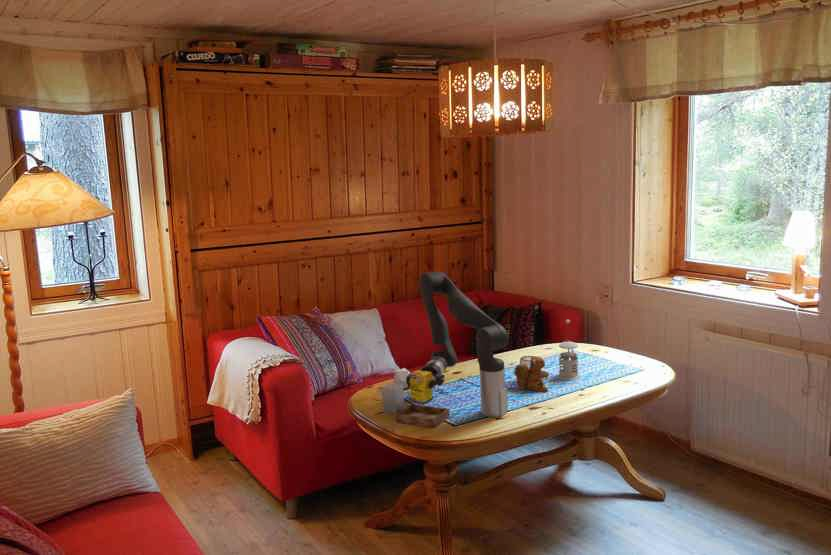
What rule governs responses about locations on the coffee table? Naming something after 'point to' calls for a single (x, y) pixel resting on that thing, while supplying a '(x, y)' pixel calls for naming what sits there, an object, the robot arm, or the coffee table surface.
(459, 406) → the coffee table surface
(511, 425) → the coffee table surface
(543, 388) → the stuffed squirrel
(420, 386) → the supplement box
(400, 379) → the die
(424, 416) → the walnut tray
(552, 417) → the coffee table surface
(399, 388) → the grey tin box
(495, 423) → the coffee table surface
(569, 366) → the french press
